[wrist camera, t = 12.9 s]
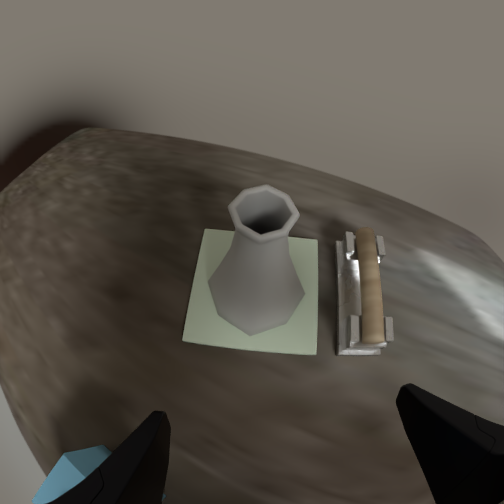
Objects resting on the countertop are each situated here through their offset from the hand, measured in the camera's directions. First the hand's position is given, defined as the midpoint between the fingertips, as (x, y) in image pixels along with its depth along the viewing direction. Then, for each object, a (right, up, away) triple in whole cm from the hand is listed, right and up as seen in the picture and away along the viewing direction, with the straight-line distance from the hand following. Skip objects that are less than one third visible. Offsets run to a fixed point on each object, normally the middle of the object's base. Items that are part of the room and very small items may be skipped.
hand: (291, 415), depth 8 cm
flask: (-1, +3, +13) cm, 14 cm away
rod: (+7, +3, +11) cm, 14 cm away
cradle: (+7, +2, +13) cm, 15 cm away
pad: (-1, +3, +13) cm, 14 cm away
